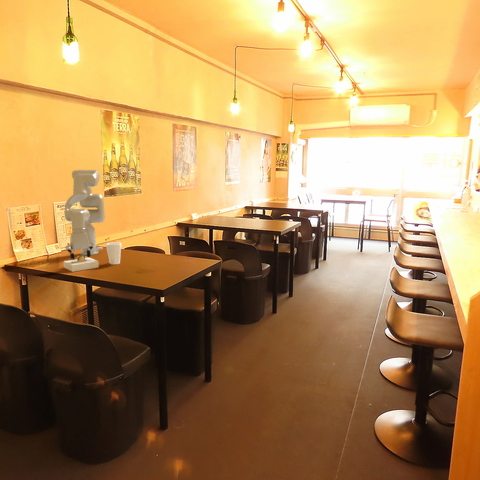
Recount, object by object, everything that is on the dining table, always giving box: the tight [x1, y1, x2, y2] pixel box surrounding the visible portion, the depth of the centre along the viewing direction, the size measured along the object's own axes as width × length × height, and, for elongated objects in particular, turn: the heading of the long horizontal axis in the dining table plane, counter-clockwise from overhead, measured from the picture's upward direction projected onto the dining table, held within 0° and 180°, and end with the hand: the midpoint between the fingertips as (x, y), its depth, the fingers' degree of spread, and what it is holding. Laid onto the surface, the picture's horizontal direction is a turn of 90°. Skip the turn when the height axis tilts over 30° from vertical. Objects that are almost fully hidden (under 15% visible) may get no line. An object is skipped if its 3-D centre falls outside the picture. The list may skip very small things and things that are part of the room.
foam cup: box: [105, 241, 122, 265], centre depth 260 cm, size 10×9×13 cm
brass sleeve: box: [76, 255, 86, 262], centre depth 251 cm, size 4×4×7 cm
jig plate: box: [63, 256, 100, 272], centre depth 251 cm, size 16×14×4 cm
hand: (80, 258), depth 250 cm, fingers open, 9 cm apart
